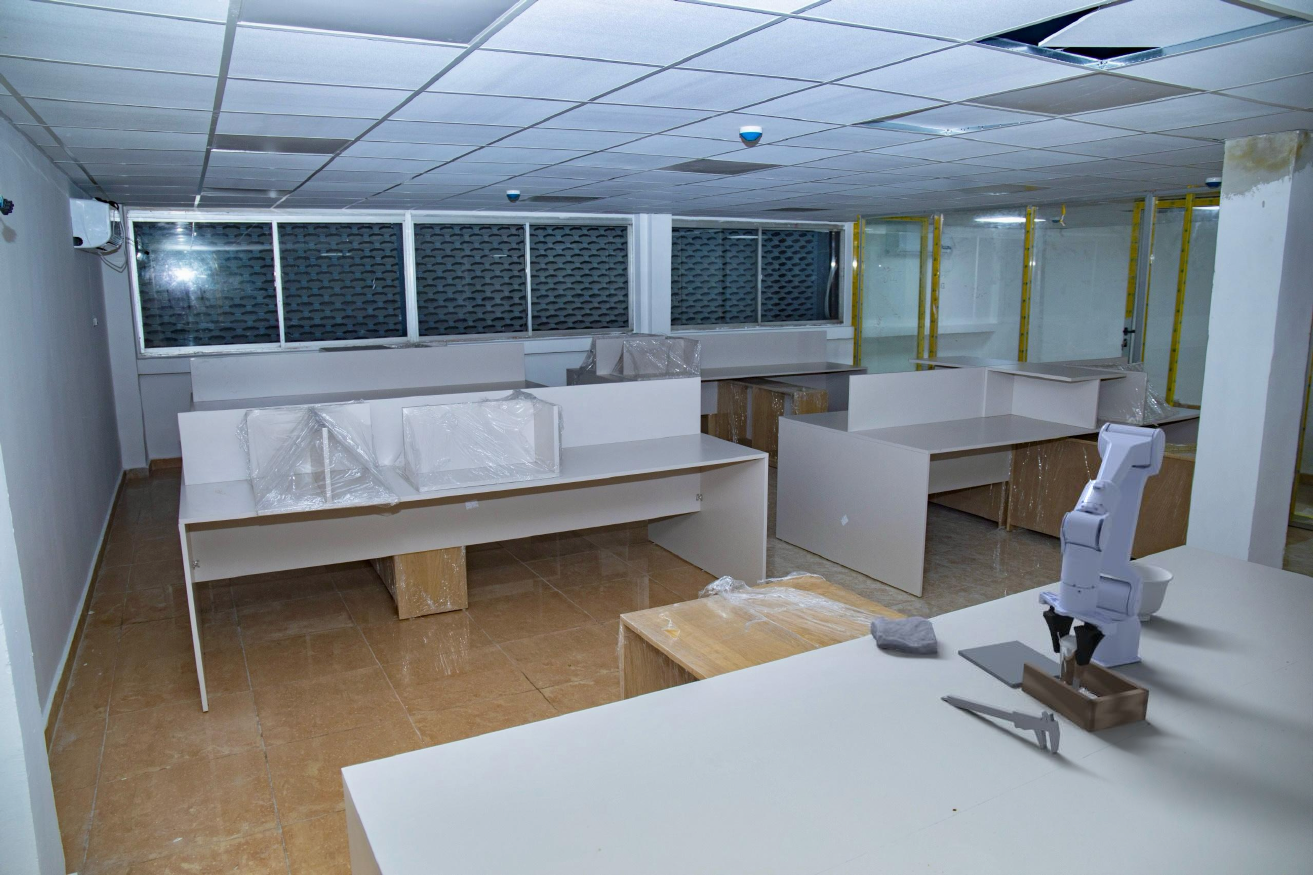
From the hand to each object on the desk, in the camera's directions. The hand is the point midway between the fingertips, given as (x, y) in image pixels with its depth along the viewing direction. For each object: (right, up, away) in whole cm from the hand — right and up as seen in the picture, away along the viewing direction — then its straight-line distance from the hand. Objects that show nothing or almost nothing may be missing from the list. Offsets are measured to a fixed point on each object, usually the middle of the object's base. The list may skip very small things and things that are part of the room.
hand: (1071, 657), depth 145 cm
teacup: (+30, 0, +36) cm, 47 cm away
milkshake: (0, -6, +1) cm, 6 cm away
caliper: (-16, -9, -8) cm, 20 cm away
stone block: (-22, -3, +21) cm, 31 cm away
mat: (-4, -4, +13) cm, 14 cm away
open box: (+1, -7, -2) cm, 8 cm away
